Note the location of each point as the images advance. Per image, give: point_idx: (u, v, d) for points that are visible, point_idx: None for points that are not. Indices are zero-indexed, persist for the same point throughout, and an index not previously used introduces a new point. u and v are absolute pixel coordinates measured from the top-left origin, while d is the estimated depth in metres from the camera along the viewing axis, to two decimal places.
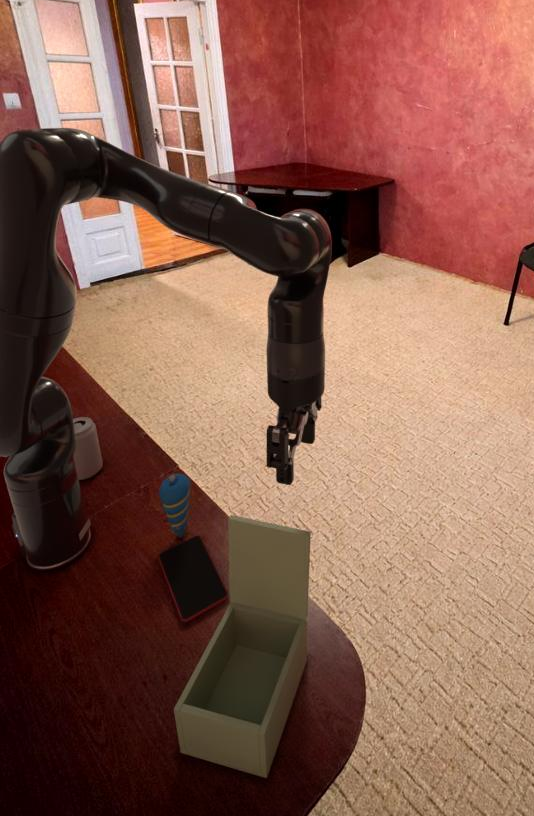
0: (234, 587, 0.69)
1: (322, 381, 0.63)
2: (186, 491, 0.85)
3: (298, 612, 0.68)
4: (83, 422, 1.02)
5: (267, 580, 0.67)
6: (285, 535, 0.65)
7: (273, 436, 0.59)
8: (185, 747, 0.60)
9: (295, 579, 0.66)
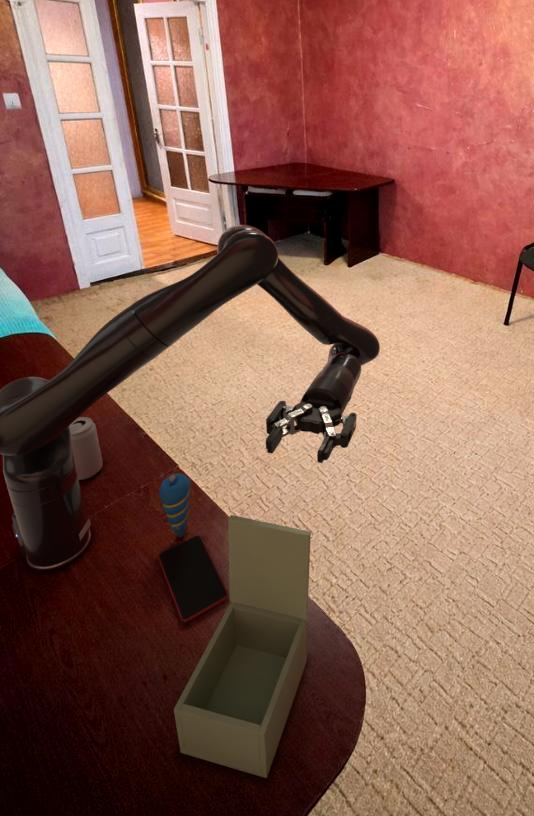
0: (234, 587, 0.69)
1: None
2: (186, 491, 0.85)
3: (298, 612, 0.68)
4: (83, 422, 1.02)
5: (267, 580, 0.67)
6: (285, 535, 0.65)
7: (355, 421, 0.79)
8: (185, 747, 0.60)
9: (295, 579, 0.66)
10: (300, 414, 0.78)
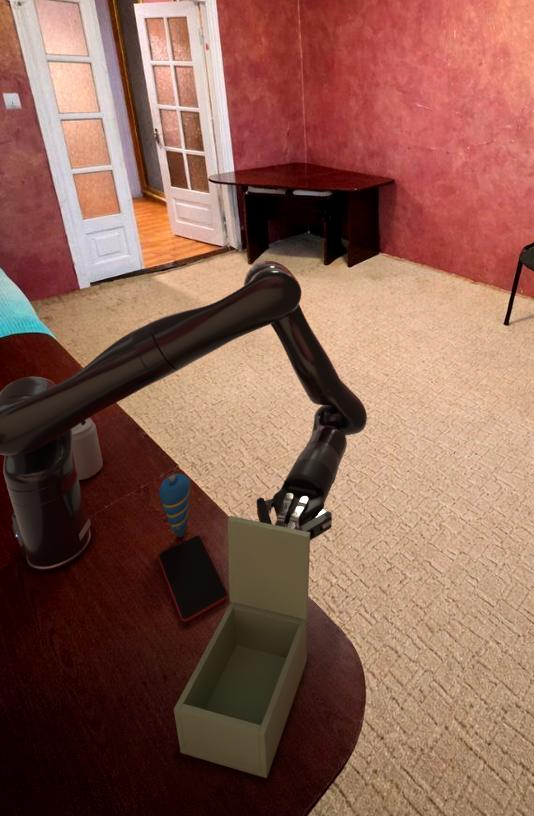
0: (234, 587, 0.69)
1: None
2: (186, 491, 0.85)
3: (298, 612, 0.68)
4: (83, 422, 1.02)
5: (267, 581, 0.67)
6: (285, 536, 0.64)
7: (327, 522, 0.74)
8: (185, 747, 0.60)
9: (295, 580, 0.66)
10: (288, 508, 0.74)
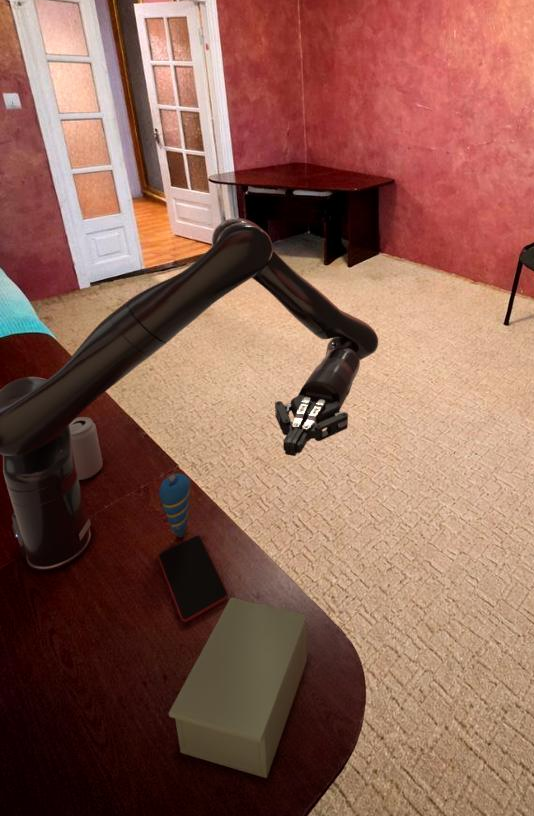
0: None
1: None
2: (186, 491, 0.85)
3: None
4: (83, 422, 1.02)
5: None
6: None
7: (344, 422, 0.76)
8: (185, 747, 0.60)
9: None
10: (306, 408, 0.77)
